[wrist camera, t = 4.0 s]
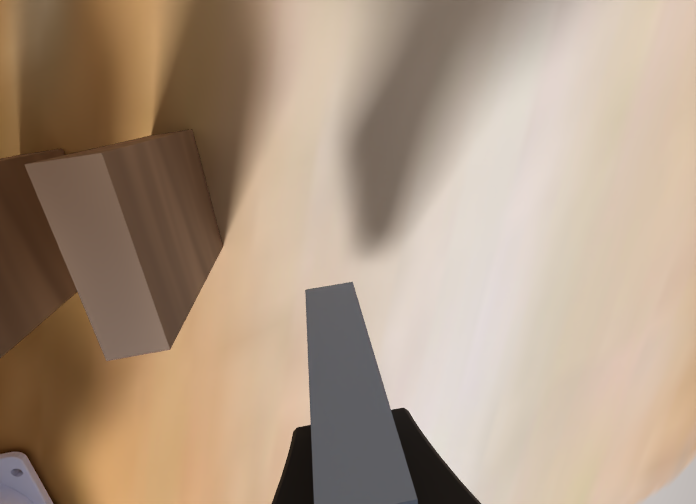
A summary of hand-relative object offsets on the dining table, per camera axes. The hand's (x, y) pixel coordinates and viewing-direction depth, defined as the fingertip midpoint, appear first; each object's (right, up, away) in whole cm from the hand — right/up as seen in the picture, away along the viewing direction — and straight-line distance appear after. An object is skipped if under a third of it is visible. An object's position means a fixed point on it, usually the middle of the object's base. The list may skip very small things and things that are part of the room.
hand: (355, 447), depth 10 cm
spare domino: (-1, +2, +4) cm, 4 cm away
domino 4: (-7, +7, +7) cm, 12 cm away
